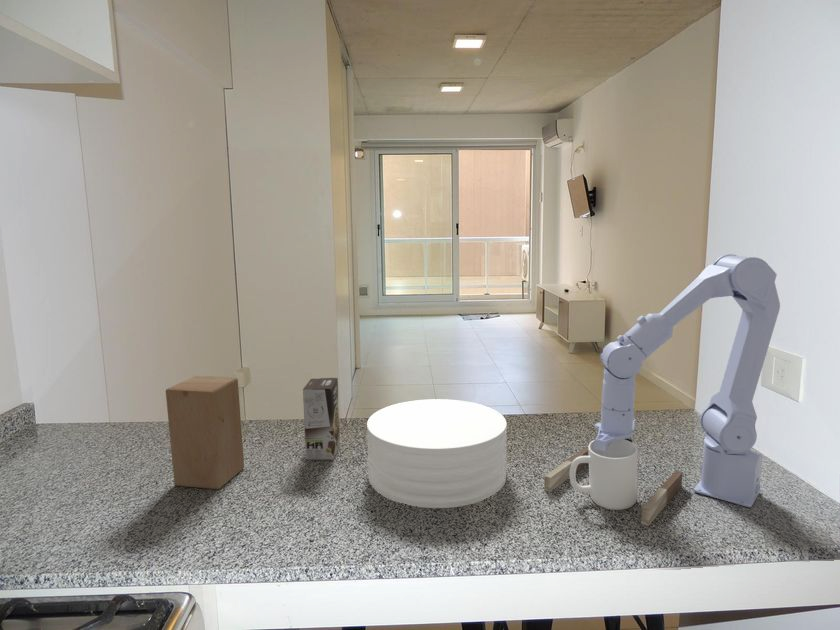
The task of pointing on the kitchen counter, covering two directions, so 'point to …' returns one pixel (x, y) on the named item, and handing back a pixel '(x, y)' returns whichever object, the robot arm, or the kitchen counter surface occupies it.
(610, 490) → the cup
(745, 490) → the robot arm
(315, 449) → the coffee box
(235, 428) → the wooden block
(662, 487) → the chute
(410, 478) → the plate stack
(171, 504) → the kitchen counter surface
